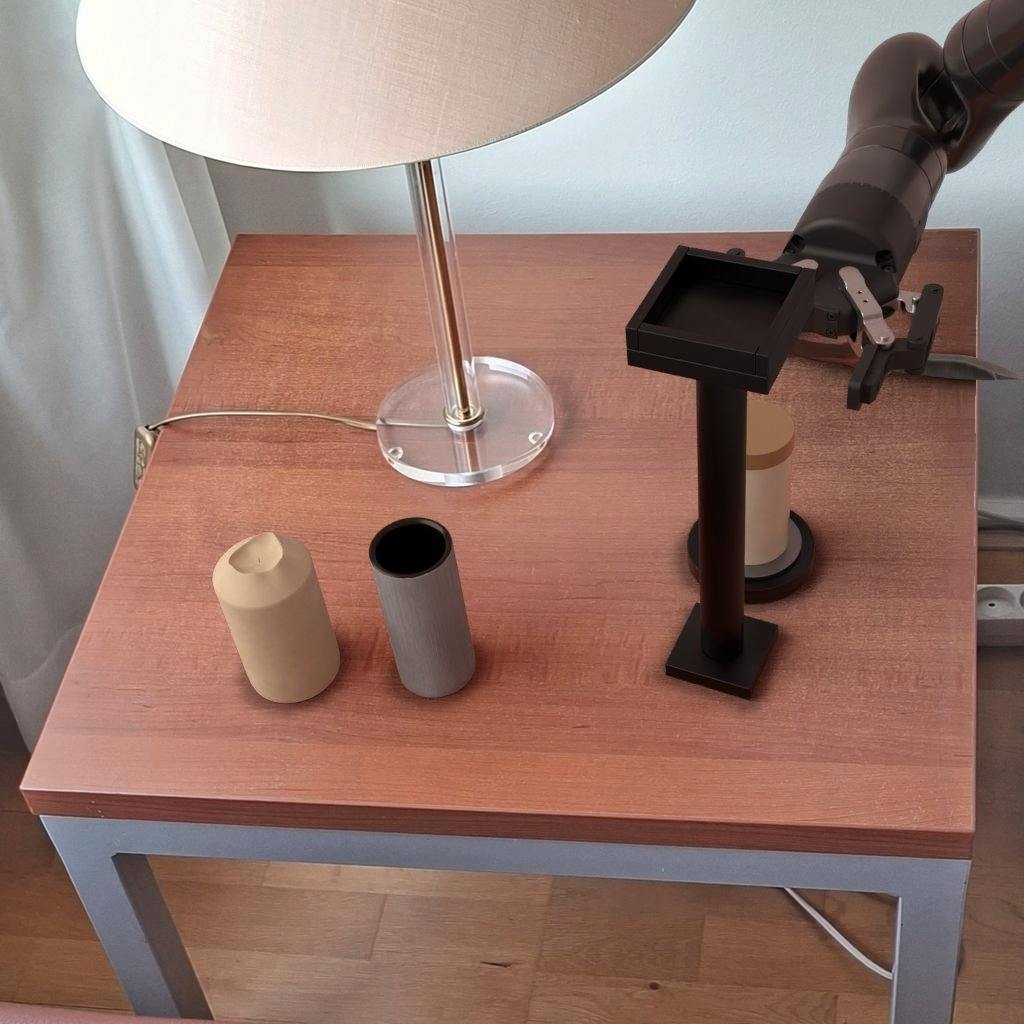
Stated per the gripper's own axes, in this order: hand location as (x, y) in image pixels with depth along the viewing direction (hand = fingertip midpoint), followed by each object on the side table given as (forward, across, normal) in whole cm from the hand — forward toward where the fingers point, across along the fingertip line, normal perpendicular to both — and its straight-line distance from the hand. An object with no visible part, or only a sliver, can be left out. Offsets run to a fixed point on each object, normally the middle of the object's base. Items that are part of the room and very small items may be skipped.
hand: (781, 383), depth 82 cm
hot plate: (+5, 0, +10) cm, 11 cm away
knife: (-13, +3, +9) cm, 16 cm away
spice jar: (+5, 0, +8) cm, 9 cm away
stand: (+13, +1, +10) cm, 16 cm away
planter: (+20, -14, +10) cm, 26 cm away
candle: (+23, -22, +10) cm, 33 cm away
